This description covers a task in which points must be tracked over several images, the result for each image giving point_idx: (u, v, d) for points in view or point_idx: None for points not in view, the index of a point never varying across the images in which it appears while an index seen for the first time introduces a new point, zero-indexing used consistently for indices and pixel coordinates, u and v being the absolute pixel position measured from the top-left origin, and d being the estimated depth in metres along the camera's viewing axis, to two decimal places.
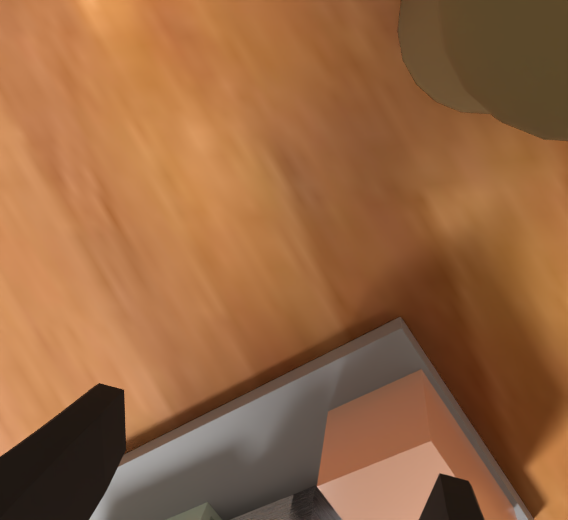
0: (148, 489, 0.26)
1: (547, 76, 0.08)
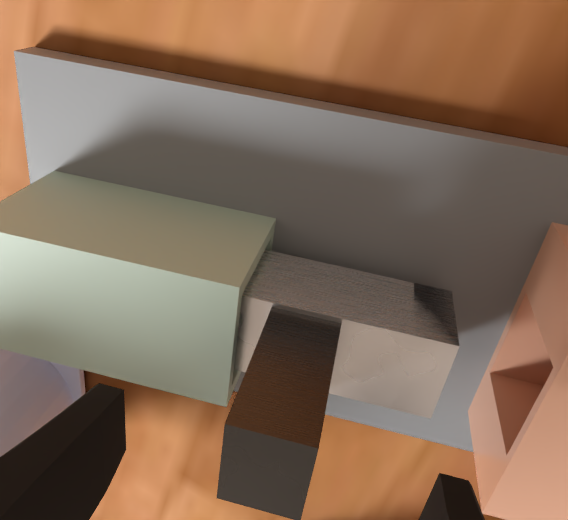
0: (212, 147, 0.17)
1: None
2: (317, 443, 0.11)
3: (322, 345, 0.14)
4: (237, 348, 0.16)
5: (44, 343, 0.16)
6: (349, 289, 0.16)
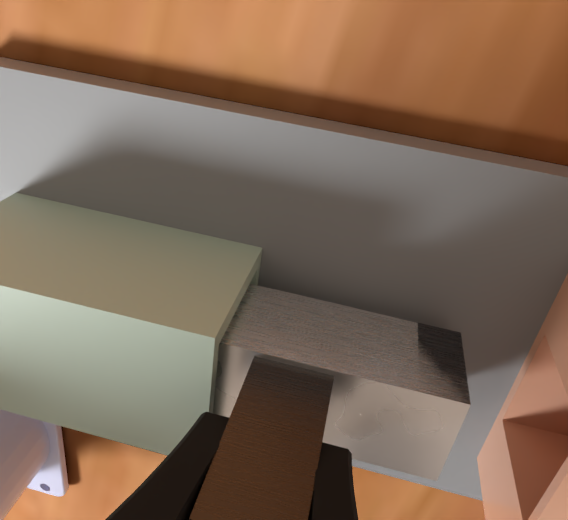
0: (189, 168, 0.15)
1: None
2: None
3: (311, 405, 0.12)
4: (216, 399, 0.14)
5: None
6: (344, 332, 0.14)
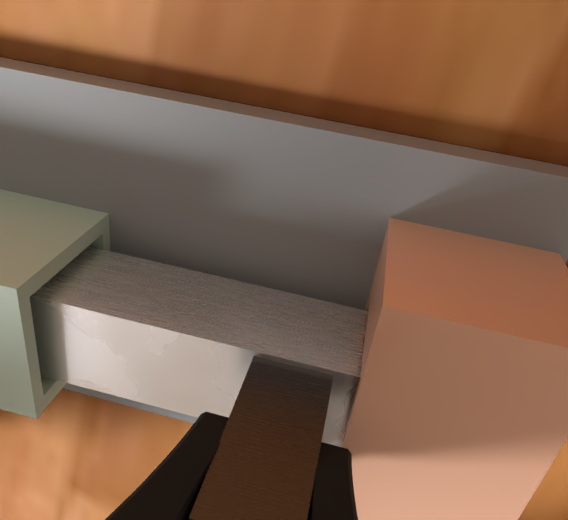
0: (31, 135, 0.15)
1: None
2: None
3: (311, 405, 0.12)
4: (216, 399, 0.14)
5: None
6: (344, 332, 0.14)
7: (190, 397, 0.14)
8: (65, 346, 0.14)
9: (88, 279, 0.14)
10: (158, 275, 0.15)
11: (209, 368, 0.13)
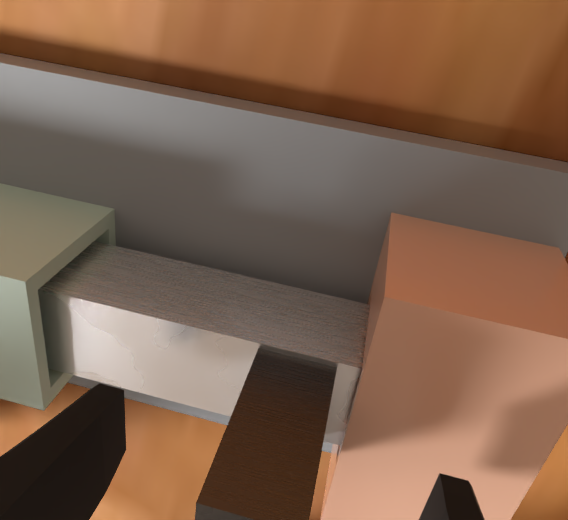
0: (38, 132, 0.15)
1: None
2: None
3: (314, 395, 0.12)
4: (221, 391, 0.14)
5: None
6: (347, 325, 0.14)
7: (195, 389, 0.14)
8: (73, 338, 0.14)
9: (95, 273, 0.14)
10: (164, 269, 0.15)
11: (214, 360, 0.14)
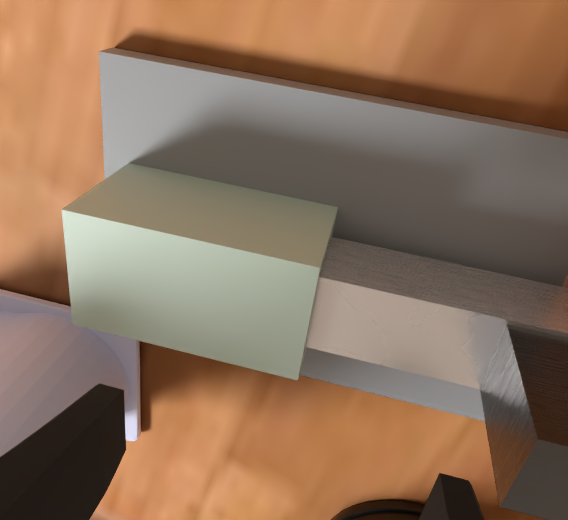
0: (281, 140, 0.18)
1: None
2: None
3: None
4: (459, 362, 0.16)
5: (128, 321, 0.17)
6: (566, 306, 0.16)
7: (435, 361, 0.17)
8: (330, 318, 0.17)
9: (344, 262, 0.17)
10: (394, 259, 0.18)
11: (461, 335, 0.16)
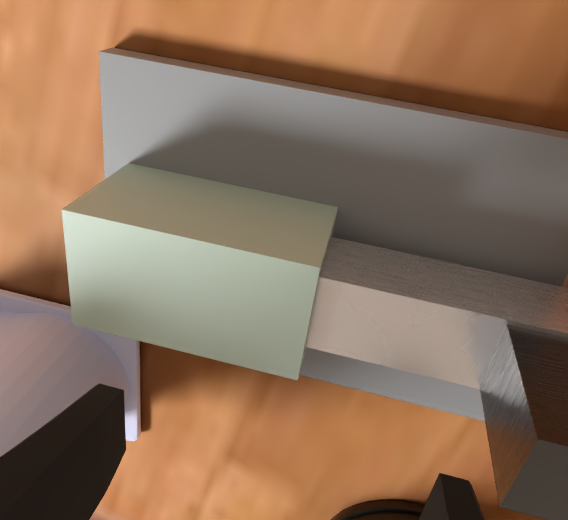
0: (281, 140, 0.18)
1: None
2: None
3: None
4: (459, 362, 0.16)
5: (128, 321, 0.17)
6: (566, 306, 0.16)
7: (435, 361, 0.17)
8: (330, 318, 0.17)
9: (344, 262, 0.17)
10: (394, 259, 0.18)
11: (461, 335, 0.16)
